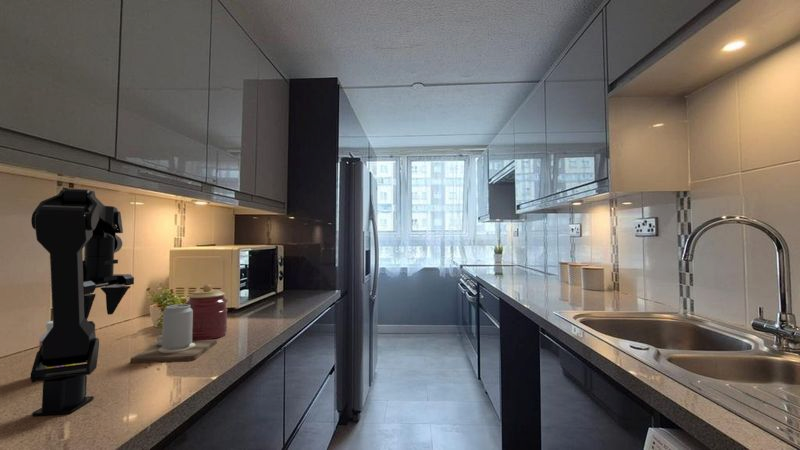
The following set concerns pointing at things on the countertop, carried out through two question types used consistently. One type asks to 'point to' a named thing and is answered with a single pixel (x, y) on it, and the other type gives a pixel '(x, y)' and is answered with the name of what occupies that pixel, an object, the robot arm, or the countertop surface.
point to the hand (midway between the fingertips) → (97, 318)
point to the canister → (208, 313)
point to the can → (177, 327)
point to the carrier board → (174, 352)
